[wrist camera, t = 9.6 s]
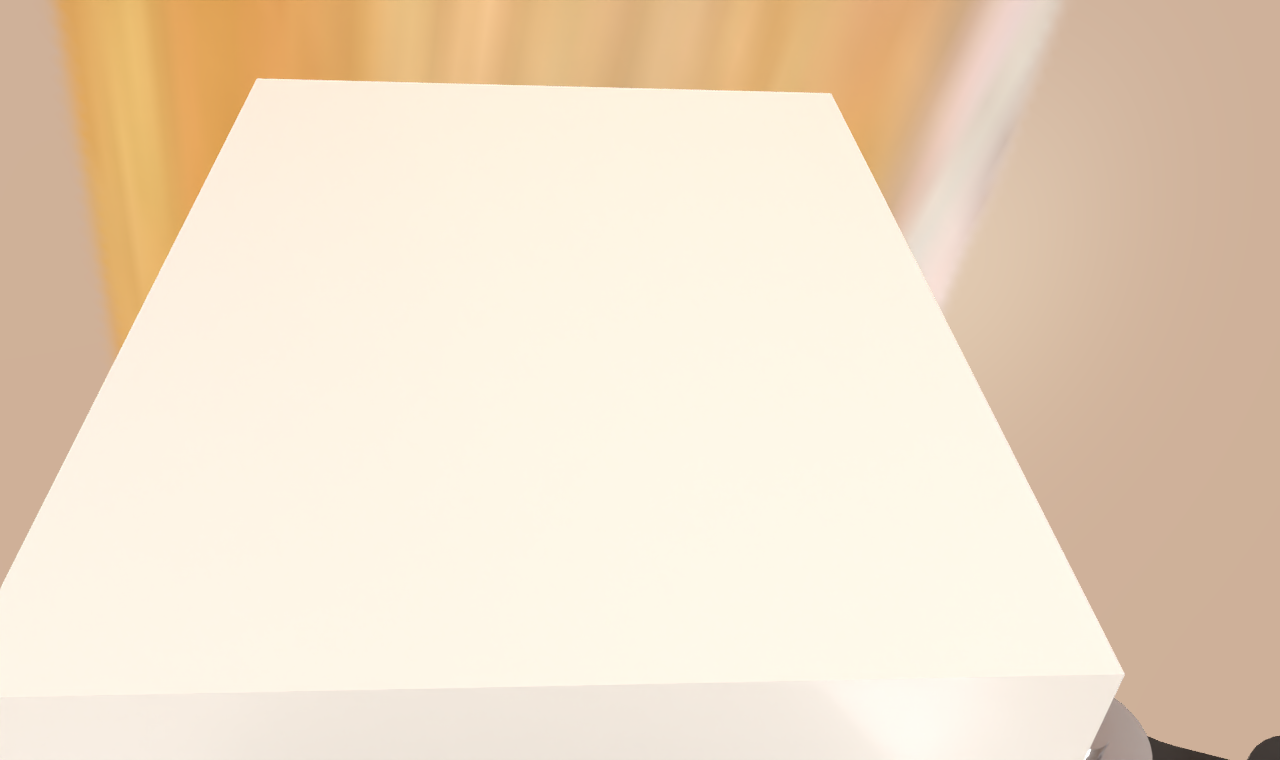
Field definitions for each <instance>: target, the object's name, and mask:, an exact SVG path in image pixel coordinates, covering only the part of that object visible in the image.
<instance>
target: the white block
mask: <svg viewBox="0 0 1280 760" xmlns="http://www.w3.org/2000/svg"><path fill="white" fill-rule="evenodd" d="M1124 675H1125V674H1124V672H1123V670H1122V668H1121V666H1120V664H1119V662H1118V660H1117V658H1116V656H1115V654H1114V652H1113V650H1112V648H1111V646H1110V644H1109V642H1108V640H1107V639H1106V636H1105V634H1104V632H1103V630H1102V628H1101V626H1100V624H1099V622H1098V620H1097V618H1096V617H1095V615H1094V612H1093V610H1092V608H1091V607H1090V605H1089V603H1088V601H1087V599H1086V597H1085V595H1084V593H1083V591H1082V589H1081V587H1080V585H1079V583H1078V581H1077V579H1076V577H1075V575H1074V573H1073V571H1072V569H1071V567H1070V565H1069V563H1068V561H1067V559H1066V557H1065V555H1064V553H1063V551H1062V549H1061V547H1060V545H1059V543H1058V541H1057V539H1056V537H1055V535H1054V533H1053V531H1052V529H1051V527H1050V525H1049V524H1048V521H1047V519H1046V518H1045V516H1044V514H1043V512H1042V510H1041V508H1040V506H1039V504H1038V502H1037V500H1036V498H1035V496H1034V494H1033V492H1032V490H1031V488H1030V486H1029V484H1028V482H1027V480H1026V478H1025V476H1024V474H1023V472H1022V470H1021V468H1020V466H1019V464H1018V462H1017V460H1016V458H1015V456H1014V454H1013V452H1012V450H1011V448H1010V446H1009V444H1008V442H1007V440H1006V438H1005V436H1004V434H1003V433H1002V430H1001V429H1000V427H999V425H998V423H997V421H996V419H995V417H994V415H993V413H992V411H991V409H990V407H989V405H988V403H987V401H986V399H985V397H984V395H983V393H982V391H981V389H980V387H979V385H978V383H977V381H976V379H975V377H974V375H973V373H972V371H971V369H970V367H969V365H968V363H967V361H966V360H965V357H964V355H963V353H962V351H961V350H960V348H959V346H958V343H957V342H956V340H955V338H954V336H953V334H952V332H951V330H950V328H949V326H948V324H947V322H946V320H945V318H944V316H943V314H942V312H941V310H940V308H939V306H938V304H937V302H936V300H935V298H934V296H933V294H932V292H931V290H930V288H929V286H928V284H927V282H926V280H925V278H924V276H923V274H922V272H921V270H920V268H919V266H918V264H917V262H916V260H915V258H914V257H913V255H912V253H911V251H910V249H909V247H908V245H907V243H906V241H905V239H904V237H903V235H902V233H901V231H900V229H899V227H898V225H897V223H896V221H895V219H894V217H893V215H892V213H891V211H890V209H889V207H888V205H887V203H886V201H885V199H884V197H883V195H882V193H881V191H880V189H879V187H878V185H877V183H876V181H875V179H874V177H873V175H872V173H871V171H870V170H869V168H868V166H867V164H866V162H865V160H864V158H863V156H862V154H861V152H860V150H859V148H858V146H857V144H856V142H855V140H854V138H853V136H852V134H851V132H850V130H849V128H848V126H847V124H846V122H845V120H844V118H843V116H842V114H841V112H840V110H839V108H838V106H837V104H836V102H835V100H834V98H833V96H832V94H831V93H801V92H762V91H723V90H684V89H645V88H606V87H567V86H528V85H489V84H450V83H412V82H373V81H334V80H295V79H257V80H256V82H255V84H254V86H253V88H252V90H251V92H250V93H249V95H248V97H247V99H246V101H245V103H244V105H243V107H242V109H241V111H240V113H239V115H238V117H237V119H236V121H235V123H234V125H233V127H232V129H231V131H230V133H229V135H228V137H227V139H226V141H225V143H224V145H223V147H222V149H221V151H220V153H219V155H218V157H217V159H216V161H215V163H214V165H213V167H212V169H211V171H210V173H209V175H208V177H207V179H206V181H205V183H204V185H203V187H202V189H201V191H200V193H199V195H198V197H197V199H196V201H195V203H194V205H193V207H192V209H191V211H190V213H189V215H188V217H187V219H186V221H185V223H184V225H183V227H182V229H181V230H180V232H179V234H178V236H177V238H176V240H175V242H174V244H173V246H172V248H171V250H170V252H169V254H168V256H167V258H166V260H165V262H164V264H163V266H162V268H161V270H160V272H159V274H158V276H157V278H156V280H155V282H154V284H153V286H152V288H151V290H150V292H149V294H148V296H147V298H146V300H145V302H144V304H143V306H142V308H141V310H140V312H139V314H138V316H137V318H136V320H135V322H134V324H133V326H132V328H131V330H130V332H129V334H128V336H127V338H126V340H125V342H124V344H123V346H122V348H121V350H120V352H119V354H118V356H117V358H116V360H115V362H114V364H113V365H112V367H111V369H110V371H109V373H108V375H107V377H106V380H105V381H104V383H103V385H102V387H101V389H100V392H99V393H98V395H97V398H96V399H95V401H94V403H93V405H92V407H91V409H90V412H89V413H88V415H87V417H86V419H85V421H84V423H83V425H82V427H81V429H80V431H79V433H78V435H77V437H76V439H75V441H74V443H73V445H72V447H71V449H70V451H69V453H68V455H67V457H66V459H65V461H64V463H63V465H62V467H61V469H60V471H59V473H58V475H57V477H56V479H55V481H54V483H53V485H52V487H51V489H50V491H49V493H48V495H47V497H46V499H45V501H44V503H43V505H42V507H41V509H40V510H39V512H38V514H37V516H36V519H35V520H34V522H33V524H32V527H31V528H30V530H29V533H28V534H27V536H26V539H25V540H24V542H23V544H22V546H21V548H20V550H19V552H18V554H17V556H16V558H15V560H14V562H13V564H12V566H11V568H10V570H9V572H8V574H7V576H6V578H5V580H4V582H3V584H2V586H1V588H0V760H1085V757H1086V755H1087V753H1088V751H1089V749H1090V747H1091V745H1092V743H1093V740H1094V738H1095V736H1096V734H1097V732H1098V730H1099V728H1100V726H1101V724H1102V721H1103V719H1104V717H1105V715H1106V713H1107V711H1108V709H1109V707H1110V704H1111V702H1112V700H1113V698H1114V696H1115V693H1116V692H1117V690H1118V688H1119V685H1120V683H1121V681H1122V679H1123V677H1124Z"/></svg>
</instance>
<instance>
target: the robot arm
mask: <svg viewBox="0 0 1280 760" xmlns="http://www.w3.org/2000/svg"><path fill="white" fill-rule="evenodd" d="M1085 760H1228V759H1224V758H1219V757H1216V756H1212V755H1208V754H1204V753H1200V752H1196V751H1192V750H1188V749H1184V748H1180V747H1176V746H1173V745H1170V744H1167V743H1163V742H1160V741H1158V740H1155V739H1153V738H1151V737H1148V736H1147V735H1146V733H1145V731H1144V729H1143V728H1142V726H1141V724H1140V723H1139V722H1138V720H1137V719H1136V718H1135V717H1134V715H1133V714H1132V713H1131V712H1130V711H1129V710H1128V709H1127V708H1126V707H1125V706H1124V705H1123V704H1122V703H1120V702H1119V701H1118V700H1116V699H1115V698H1113V700H1112V702H1111V704H1110V707H1109V709H1108V711H1107V713H1106V715H1105V717H1104V719H1103V721H1102V724H1101V726H1100V728H1099V730H1098V732H1097V734H1096V736H1095V738H1094V740H1093V743H1092V745H1091V747H1090V749H1089V751H1088V753H1087V755H1086V757H1085ZM1247 760H1280V736H1276V737H1272V738H1270V739H1267V740H1265V741H1263V742H1262V743H1260V744H1259V745H1257V746H1256V747H1255V749H1254V750H1253V751H1252V753H1251V754H1250V756H1249V757H1248V759H1247Z"/></svg>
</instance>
